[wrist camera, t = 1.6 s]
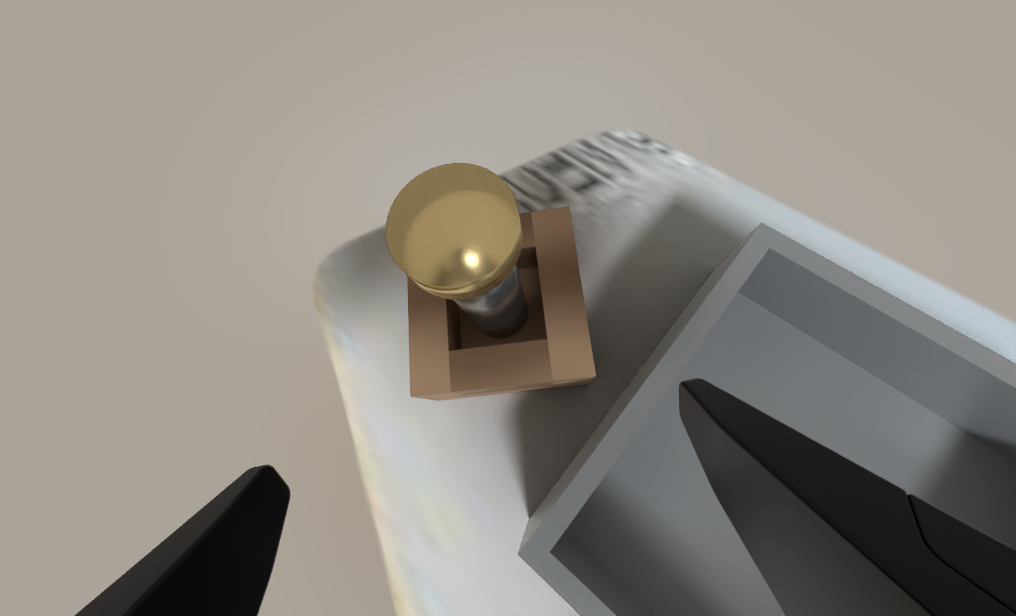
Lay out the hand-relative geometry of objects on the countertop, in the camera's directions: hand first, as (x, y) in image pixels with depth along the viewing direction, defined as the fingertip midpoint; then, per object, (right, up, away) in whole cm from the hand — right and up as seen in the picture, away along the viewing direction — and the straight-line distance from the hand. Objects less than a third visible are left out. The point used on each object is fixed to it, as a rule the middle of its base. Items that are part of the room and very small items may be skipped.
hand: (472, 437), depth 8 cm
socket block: (+1, +2, +13) cm, 13 cm away
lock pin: (0, +3, +12) cm, 12 cm away
